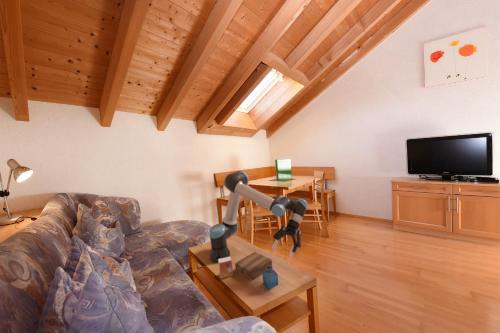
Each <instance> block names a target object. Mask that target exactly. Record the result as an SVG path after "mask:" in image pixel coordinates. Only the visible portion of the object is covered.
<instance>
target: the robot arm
mask: <svg viewBox="0 0 500 333" xmlns="http://www.w3.org/2000/svg"><path fill="white" fill-rule="evenodd" d="M249 180H250V179H249V175H248V174H247V172H246V171H243V170H237V171H235V172H232V173H229V174H227V175H226V176H225V178H224V181H223V182H224V186H225V188H226V189H227V190H228V191H229V197H228V201H227V206H226V211H225V215H224V217H222V220H221V223H219V224H215V225H213V226H211V227H210V228H209V239H210V241H209V242H210V247H211V250H210V254H209V260H210V261H211V262H213V263H218V259H221V258H226V257H229V256H230V257H231V251H230V249H229V246H228V241H227V240H228V239H229V238H231V237H233V235H235V234H236V233H237V232H238V229H239V224H238V220H237V214H238V210H239V206H240V201H241V197H243V198H246V199H248V200H250V201H251V202H253V203H256V204H258V205H259V206H262V207H263V208H264V209H267V210H269V211H270V212H271V214H272V215H273V216H274V217H277V218H280V217H281V216H284V214H285V213H286V212H287V211H291V214H290V216H289V219H288V221H287V223H286V226H285V225H282V226H281V227H280V229H278V230H277V231H276V233H275V234H274V235H273V236H272V237H273V238H274V239H273V242H272V246H271V250H272V251H274V252H275V251H276V248H277V246H278V244H279V240H281V239H282V238H284V237H285V236H290V237H291V238H292V243H293V245H292V246H291V248H290V251H289V254H288V257H289V258H290V259H293V256H294V254H295V253H296V251H297V249H298V248H301V246H302V245H301V244H302V242H301V241H302V240H301V235H302V231H301V230H299V228H300V226H301V225H300V224H301V223H302V221H303V218H304V216H305V214H306V212H307V209H308V206H309V203H308V202H307V200H305V199H304V198H298V199H297V200H294V199H292V198H290V197H288V196H285V195H283V194H282V195H279V196H278V198H277V199H274V198H272V197H270V196H269V195H267V194H266V193H265V194H264V193H263V192H261V191H258V190H256V189H255V188H254V187H251V186H248V183H249Z"/></svg>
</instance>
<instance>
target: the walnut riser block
mask: <svg viewBox="0 0 500 333" xmlns="http://www.w3.org/2000/svg"><path fill="white" fill-rule="evenodd" d="M272 260H273V259H271V258H270V257H267V256H265V255H263V254H260V253H258V252H256V251H254V252H252V253H250V254H248V255H247V256H245V257H243V258H241V259H240V260H238V261H236V262H235V263H234V265H235V267H234V268H235V272H237V273H239V274H240V275H242V276H243V277H246V278H247V279H248V280H250V281H254V280H256V279H257V278H259V277H261V276H263V273H264V271H265V270H267V269H266V267H267V266H266V265H267V264H272V265H273V261H272Z"/></svg>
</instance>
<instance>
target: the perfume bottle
mask: <svg viewBox="0 0 500 333" xmlns="http://www.w3.org/2000/svg"><path fill="white" fill-rule="evenodd" d="M266 266H267V267H266V269H267V270H265V271H264V273H263V274H262V282H263V283H262V284H263V286H265V287H266V288H267V289H269V290H270V291H271V290H272V289H274V288H276V287H277V286H279V277H278V276H279V275H278V273H277V272H276V271H275V270H274V269H273V263H272V264H267V265H266Z"/></svg>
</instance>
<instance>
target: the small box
mask: <svg viewBox="0 0 500 333" xmlns="http://www.w3.org/2000/svg"><path fill="white" fill-rule="evenodd" d="M217 263H218V271H219V277H220V279H224V278H225V279H226V278H229V277H233V276H234V272H233V262H232V258H231V255H230V256H229V257H226V258H221V259H218V262H217Z"/></svg>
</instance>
